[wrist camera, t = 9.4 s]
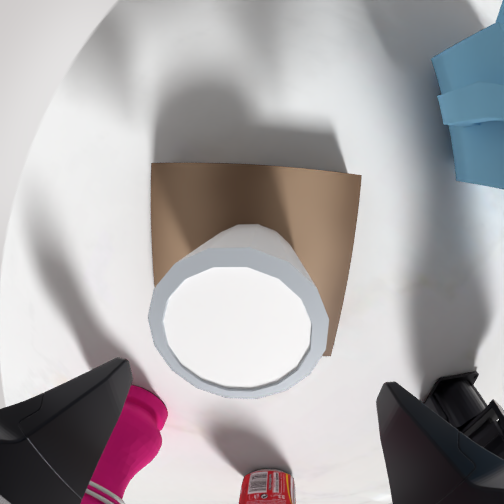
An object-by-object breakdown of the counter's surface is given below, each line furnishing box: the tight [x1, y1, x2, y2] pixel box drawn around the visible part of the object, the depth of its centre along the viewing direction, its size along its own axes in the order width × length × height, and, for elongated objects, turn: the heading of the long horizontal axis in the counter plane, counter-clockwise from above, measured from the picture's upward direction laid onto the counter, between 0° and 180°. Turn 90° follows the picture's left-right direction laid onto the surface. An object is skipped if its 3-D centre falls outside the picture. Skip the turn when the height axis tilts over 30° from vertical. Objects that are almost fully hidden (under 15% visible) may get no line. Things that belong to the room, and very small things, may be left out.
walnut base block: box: [151, 163, 362, 356], centre depth 18 cm, size 12×12×3 cm
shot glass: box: [148, 224, 329, 399], centre depth 13 cm, size 7×7×7 cm
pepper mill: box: [81, 385, 168, 504], centre depth 16 cm, size 7×7×20 cm
